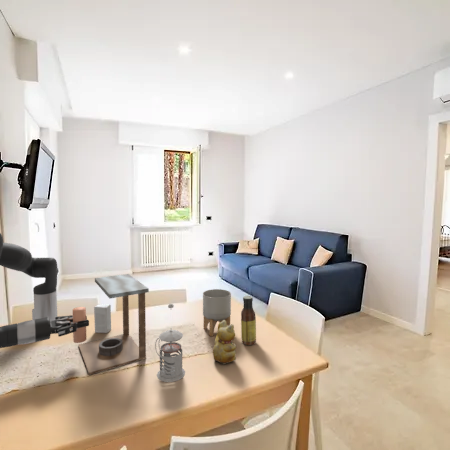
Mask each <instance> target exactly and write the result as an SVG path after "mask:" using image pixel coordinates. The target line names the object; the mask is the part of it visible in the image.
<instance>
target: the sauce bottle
mask: <svg viewBox="0 0 450 450" xmlns="http://www.w3.org/2000/svg"><path fill="white" fill-rule="evenodd" d="M253 298H254V297H253V296H251V295H245V296H243V297H242V301H243V308H242V309H241V313H240V316H241V317H240V321H241V323H240V325H241V326H240V328H241V331H240V333H241V335H240V336H241V337H240V338H241V342H242V344H243V345H244V346H253V345H255V344H256V343H257V327H256V326H257V324H256V323H257V322H256V321H257V320H256V312H255V310H254V307H253V301H254V299H253Z"/></svg>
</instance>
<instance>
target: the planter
mask: <svg viewBox="0 0 450 450" xmlns="http://www.w3.org/2000/svg"><path fill="white" fill-rule="evenodd" d="M231 308H232V293H231V291H229V290H226V289H221V288H219V289H217V288H216V289H215V288H213V289H208V290H204V291H203V292H202V316H203V330H207V329H208V328H209V331H208V332H209V333H208V334H209V337H214V336H215V335H214V333H215V329H216V328H215V327H216V325H217V322H218V324H219V323H220V322H222V321H223V320H225V321H226V323H227V325H228V326H229V325H231V314H232V309H231ZM208 326H209V327H208Z"/></svg>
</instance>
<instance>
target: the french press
mask: <svg viewBox="0 0 450 450" xmlns="http://www.w3.org/2000/svg"><path fill="white" fill-rule="evenodd" d="M167 307H168V309H173V308H174V307H175V306H174V304H173V303H169V304H168V306H167ZM183 337H184V334H183V332H182V331H179V330H176V329H167V330H165V331H162V332H161V333H160V334H159V336H158V338H157V339H156V340H155V342H154V343H155V345H154V348H155V352H156V354H157V355H158V357H159V370H158V371H157V374H156V377H157V379H158V380H159V381H161V382H165V383H174V382H178V381H180V380H181V379H183V378H184V376H185V375H186V370H185V369H184V368H183V348H182V345H181V343H179V342H177V341H180V340H181V339H182V338H183ZM160 341H161V342H165V343H164V344H162V345H161V346H160V345H158V348H159V352H158V351H157V342H160Z"/></svg>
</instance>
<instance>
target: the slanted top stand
mask: <svg viewBox="0 0 450 450" xmlns="http://www.w3.org/2000/svg"><path fill="white" fill-rule="evenodd" d="M94 283H95V284H96V285H98V287H99V288H100V289H101V291H102V292H103V293H104V294H105V295H106V296H107V298H109V299H116V298H122V334H118V335H113V336H110V337H106V338H102V339H97V340H93V341H88V342H84V343H83V342H82V343H78V348H79V351H80V354H81V356H82V359H83V362H84V364H85V368H86V370H87V372H88V375H89V376H90V375H94V374H97V373H101V372H104V371H108V370H110V369H114V368H118V367H120V366H121V367H122V366H124V365H128V364H130V363H131V364H132V363H134V362H138V361H142V360H145V359H147V349H146V347H147V345H146V344H147V337H146V332H147V331H146V329H147V328H146V325H147V324H146V293H149V292H150V291H149V290H150V289H149V287H148V286H146V285H144V284H143V283H142V282H141V281H139V280H137V279H136V278H135V277H133V276H132V275H130V274H129V273H125V274H119V275H118V274H117V275H110V276H109V275H108V276H102V277H95V278H94ZM133 295H137V298H138V299H137V300H138V301H137V302H138V304H137V305H138V308H137V309H138V311H137V312H138V344H137V343H136V342H135V340H134V339H133V338H132V337H131V335H130V314H129V313H130V312H129V310H130V309H129V296H133Z"/></svg>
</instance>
